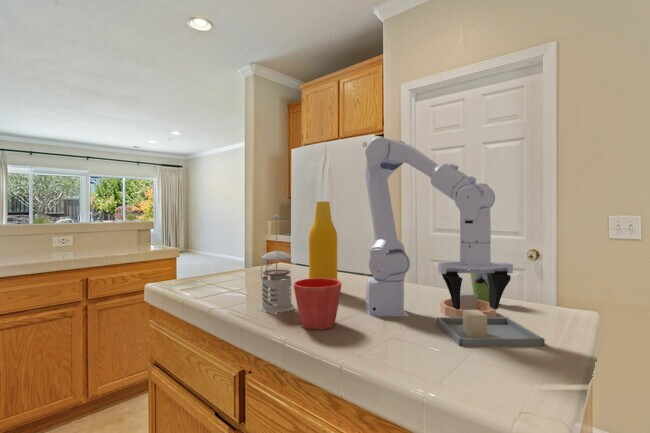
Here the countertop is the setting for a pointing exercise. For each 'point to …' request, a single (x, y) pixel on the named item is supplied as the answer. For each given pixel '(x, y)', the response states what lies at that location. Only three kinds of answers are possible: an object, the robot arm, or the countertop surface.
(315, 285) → the flower pot
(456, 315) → the bowl
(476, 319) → the cream wooden cube
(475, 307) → the grey sharp-edged cube
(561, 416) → the countertop surface
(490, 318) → the tray
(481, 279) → the beverage can
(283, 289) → the french press
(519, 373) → the countertop surface
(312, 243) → the beer bottle
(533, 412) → the countertop surface
